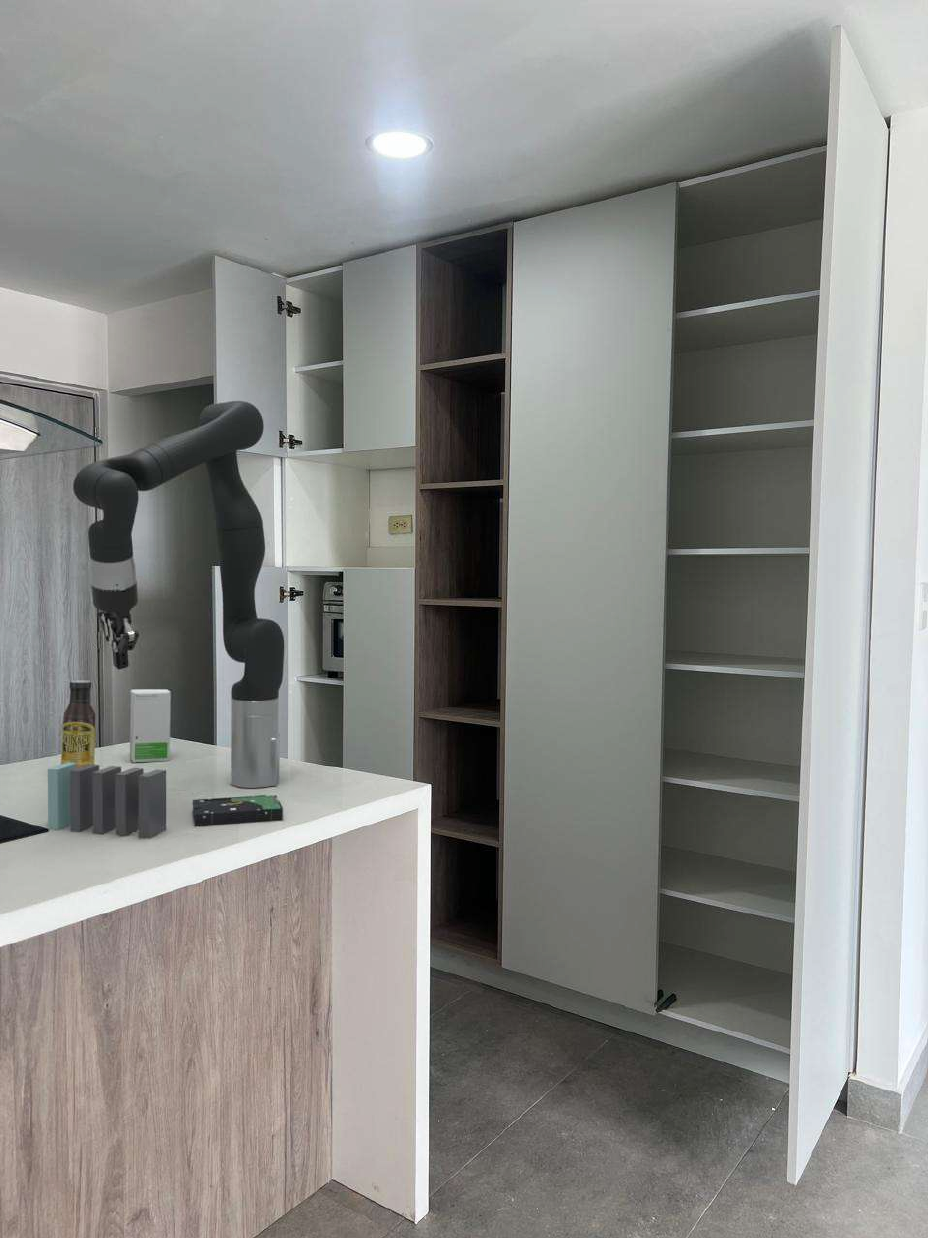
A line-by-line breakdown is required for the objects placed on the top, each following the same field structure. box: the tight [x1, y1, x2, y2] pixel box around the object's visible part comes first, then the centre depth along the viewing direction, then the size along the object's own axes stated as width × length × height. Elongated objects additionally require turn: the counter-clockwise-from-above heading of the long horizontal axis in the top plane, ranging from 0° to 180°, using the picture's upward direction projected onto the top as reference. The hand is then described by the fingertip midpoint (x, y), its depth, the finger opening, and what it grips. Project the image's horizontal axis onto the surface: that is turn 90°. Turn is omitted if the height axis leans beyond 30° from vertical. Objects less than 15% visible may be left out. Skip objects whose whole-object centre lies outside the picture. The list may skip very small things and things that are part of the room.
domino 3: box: [92, 765, 122, 835], centre depth 149 cm, size 2×5×10 cm, turn 166°
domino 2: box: [69, 764, 100, 833], centre depth 150 cm, size 2×5×10 cm, turn 166°
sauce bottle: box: [60, 679, 96, 768], centre depth 185 cm, size 7×6×20 cm
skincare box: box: [129, 688, 172, 764], centre depth 204 cm, size 8×7×16 cm
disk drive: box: [192, 794, 284, 827], centre depth 159 cm, size 10×3×15 cm
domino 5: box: [138, 768, 167, 839], centre depth 147 cm, size 2×5×10 cm, turn 166°
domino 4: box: [115, 767, 145, 837], centre depth 148 cm, size 2×5×10 cm, turn 166°
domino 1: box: [47, 763, 77, 831], centre depth 151 cm, size 2×5×10 cm, turn 166°
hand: (121, 666), depth 167 cm, fingers closed
